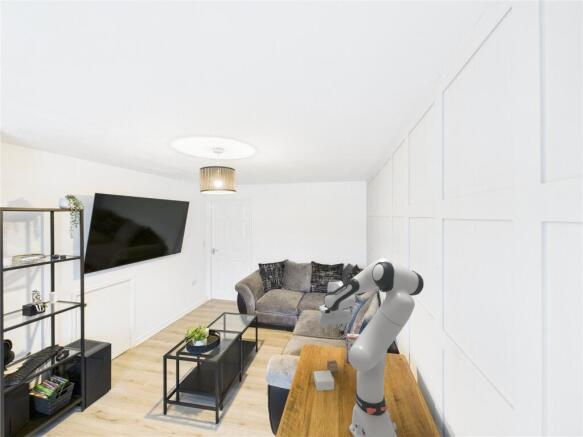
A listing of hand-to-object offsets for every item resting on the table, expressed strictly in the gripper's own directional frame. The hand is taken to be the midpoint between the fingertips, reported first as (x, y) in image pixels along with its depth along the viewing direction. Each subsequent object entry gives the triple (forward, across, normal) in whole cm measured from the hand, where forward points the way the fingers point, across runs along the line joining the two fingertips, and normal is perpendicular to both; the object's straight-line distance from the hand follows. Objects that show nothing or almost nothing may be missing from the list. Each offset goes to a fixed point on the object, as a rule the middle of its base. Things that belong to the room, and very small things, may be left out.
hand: (334, 331), depth 142 cm
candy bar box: (+25, -18, -7) cm, 32 cm away
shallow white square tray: (+25, +10, +8) cm, 28 cm away
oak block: (+25, 0, 0) cm, 25 cm away
